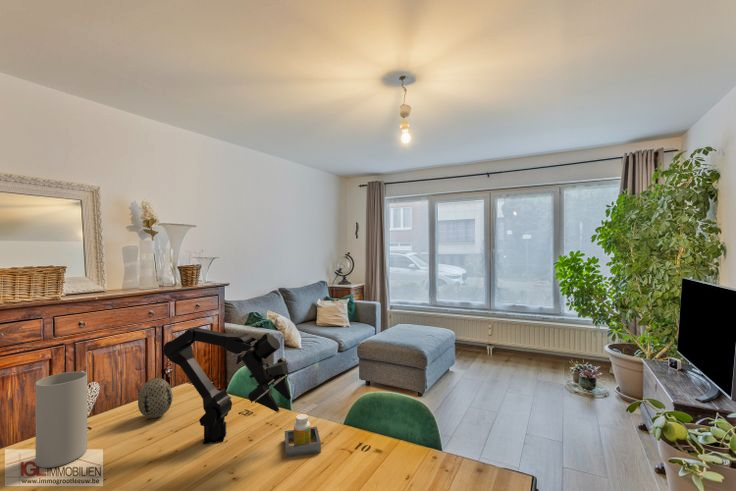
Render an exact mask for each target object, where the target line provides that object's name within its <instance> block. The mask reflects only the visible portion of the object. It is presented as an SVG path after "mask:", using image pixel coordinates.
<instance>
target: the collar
mask: <svg viewBox="0 0 736 491" xmlns="http://www.w3.org/2000/svg"><path fill="white" fill-rule="evenodd" d="M311 438H314V441H313V442H312V441H311V442H310V443H306V444H299V445H294V444H292V445H290V444H289V442H290V441H294V429H290V430H284V450H285V458H286V459H287V458H293V457H300V456H306V455H312V454H318V453H319V454H320V453H322V442H321V439H320V434H319V430H318V427H317V426H312V427H311V426H310V439H311Z"/></svg>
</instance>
